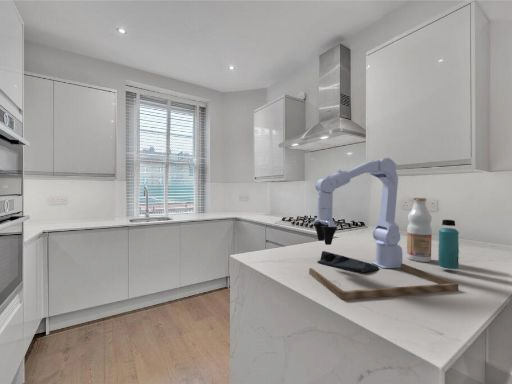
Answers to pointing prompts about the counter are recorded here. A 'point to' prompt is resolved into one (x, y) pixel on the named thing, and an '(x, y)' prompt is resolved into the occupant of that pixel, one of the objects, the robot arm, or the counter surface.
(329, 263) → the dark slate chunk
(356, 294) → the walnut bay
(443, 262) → the beverage bottle
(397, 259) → the robot arm
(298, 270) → the counter surface
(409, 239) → the fruit juice
